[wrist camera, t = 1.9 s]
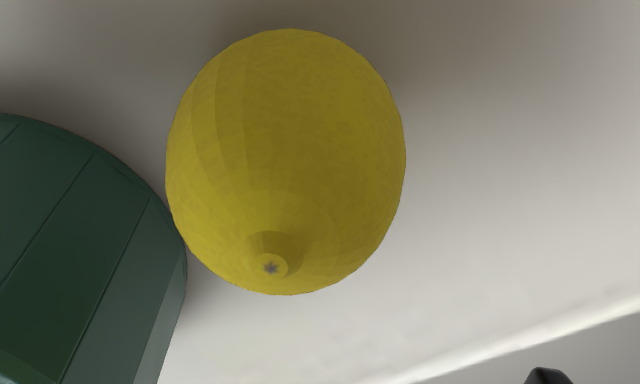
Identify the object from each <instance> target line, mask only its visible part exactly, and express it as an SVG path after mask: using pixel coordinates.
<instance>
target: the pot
mask: <svg viewBox="0 0 640 384" xmlns="http://www.w3.org/2000/svg"><path fill="white" fill-rule="evenodd" d="M186 279H187V260H186V255H185V249H184V245H183V242H182V239H181V236H180V234H179V231H178V229H177V227H176V226H175V224H174V221H173V219H172V217H171V215H170V213H169V212H168V211H167V209H166V208H165V206H164V205H163V203H162V202H161V201H160V199H159V198H158V197H157V195H156V194H155V193H154V192H153V191H152V190H151V189H150V188H149V186H148V185H147V184H146V183H145V182H144V181H143V180H142V179H141V178H140V177H138V176H137V175H136V174H135V173H134V172H133V171H132V170H131V169H130V168H128V167H127V166H126V165H125V164H123V163H122V162H120V161H119V160H118V159H116V158H115V157H114V156H112V155H111V154H110V153H108V152H106V151H105V150H103V149H101V148H100V147H98V146H96V145H95V144H93V143H91V142H89V141H88V140H86V139H84V138H81V137H79V136H77V135H75V134H73V133H71V132H69V131H66V130H64V129H61V128H58V127H56V126H53V125H50V124H47V123H44V122H41V121H38V120H33V119H29V118H25V117H21V116H17V115H10V114H3V113H0V350H2V351H4V352H6V353H8V354H10V355H12V356H14V357H15V358H17V359H19V360H21V361H23V362H24V363H26V364H27V365H29V366H30V367H32V368H34V369H35V370H37V371H38V372H40V373H41V374H43V375H44V376H46V377H48V378H49V379H51V380H52V381H53V382H55V383H56V384H157V381H158V378H159V375H160V372H161V369H162V366H163V362H164V359H165V356H166V353H167V350H168V347H169V344H170V341H171V338H172V335H173V332H174V328H175V325H176V322H177V319H178V316H179V313H180V310H181V307H182V304H183V301H184V297H185V285H186Z"/></svg>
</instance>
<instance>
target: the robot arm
mask: <svg viewBox="0 0 640 384" xmlns="http://www.w3.org/2000/svg"><path fill="white" fill-rule="evenodd" d="M524 384H573V383H572V381H571V380H570V379H569V378H568V377H567V376H566V375H565V374H564V373H563V372H562V371H560V370H557V369H550V368H543V367H536V368H534V369H533V370H532V371H531V372H530V374H529V376H528V377H527V379H526V381H525V383H524Z"/></svg>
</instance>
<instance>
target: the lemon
mask: <svg viewBox="0 0 640 384" xmlns="http://www.w3.org/2000/svg"><path fill="white" fill-rule="evenodd" d="M405 168H406V149H405V141H404V134H403V126H402V121H401V117H400V114H399V111H398V109H397V107H396V105H395V102H394V100H393V98H392V95H391V93H390V91H389V89H388V86H387V85H386V83H385V81H384V80H383V79H382V78H381V76H380V75H379V74H378V73H377V71H376V70H375V69H374V68H373V67H372V65H371V64H370V63H369V62H368V60H367V59H365V58H364V57H363V56H362V55H360V54H359V53H358V52H356V51H355V50H353V49H352V48H351V47H349V46H348V45H346V44H345V43H344V42H342V41H339V40H337V39H334V38H332V37H329V36H327V35H324V34H322V33H319V32H316V31H309V30H301V29H294V28H285V29H276V30H268V31H262V32H259V33H257V34H254V35H252V36H249V37H247V38H244V39H241V40H239V41H236V42H234V43H233V44H231V45H230V46H229V47H227V48H226V49H224V50H223V51H222V52H220V53H219V54H218V55H216V56H215V57H214V58H212V59H211V60H210V61H209V62H207V63H206V64H205V66H204V67H203V68H202V69H201V71H200V72H199V73H198V75H197V76H196V77H195V79H194V80H193V81H192V83H191V84H190V85H189V87H188V88H187V89H186V91H185V93H184V94H183V96H182V98H181V100H180V103H179V105H178V108H177V111H176V114H175V117H174V120H173V122H172V125H171V128H170V131H169V135H168V140H167V147H166V172H165V187H166V194H167V198H168V202H169V206H170V209H171V213H172V217H173V220H174V224H175V226H176V227H177V229H178V231H179V233H180V234H181V236H182V238H183V239H184V241H185V243H186V244H187V246H188V248H189V249H190V251H191V252H192V253H193V254H194V255H195V256H196V257H197V258H198V259H199V260H200V261H201V262H202V263H203V264H204V265H205V266H206V267H207V268H208V269H209V270H211V271H212V272H213V273H215V274H217V275H218V276H220V277H221V278H223V279H224V280H226V281H227V282H229V283H231V284H234V285H236V286H239V287H241V288H244V289H246V290H249V291H254V292H259V293H263V294H268V295H297V294H303V293H309V292H313V291H316V290H319V289H321V288H324V287H327V286H330V285H332V284H335V283H337V282H339V281H340V280H342V279H343V278H345V277H347V276H348V275H350V274H351V273H353V272H354V271H356V270H357V269H358V268H359V267H360V266H361V265H362V264H363V263H364V262H365V261H366V260H367V259H368V258H369V257H370V256H371V255H372V254H373V252H374V251H375V250H376V249H377V248H378V246H379V245H380V243H381V242H382V240H383V238H384V236H385V234H386V232H387V230H388V228H389V226H390V224H391V223H392V221H393V218H394V216H395V214H396V211H397V208H398V205H399V202H400V196H401V191H402V185H403V180H404V174H405Z"/></svg>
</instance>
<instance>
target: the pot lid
mask: <svg viewBox="0 0 640 384" xmlns="http://www.w3.org/2000/svg"><path fill="white" fill-rule="evenodd" d="M0 384H56V383H55V382H53V381H52V380H51V379H49V378H48V377H46V376H44V375H43V374H41V373H40V372H38V371H37V370H35V369H34V368H32V367H30V366H29V365H27V364H26V363H24V362H23V361H21V360H19V359H17V358H15V357H14V356H12V355H10V354H8V353H6V352H4V351H2V350H0Z"/></svg>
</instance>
